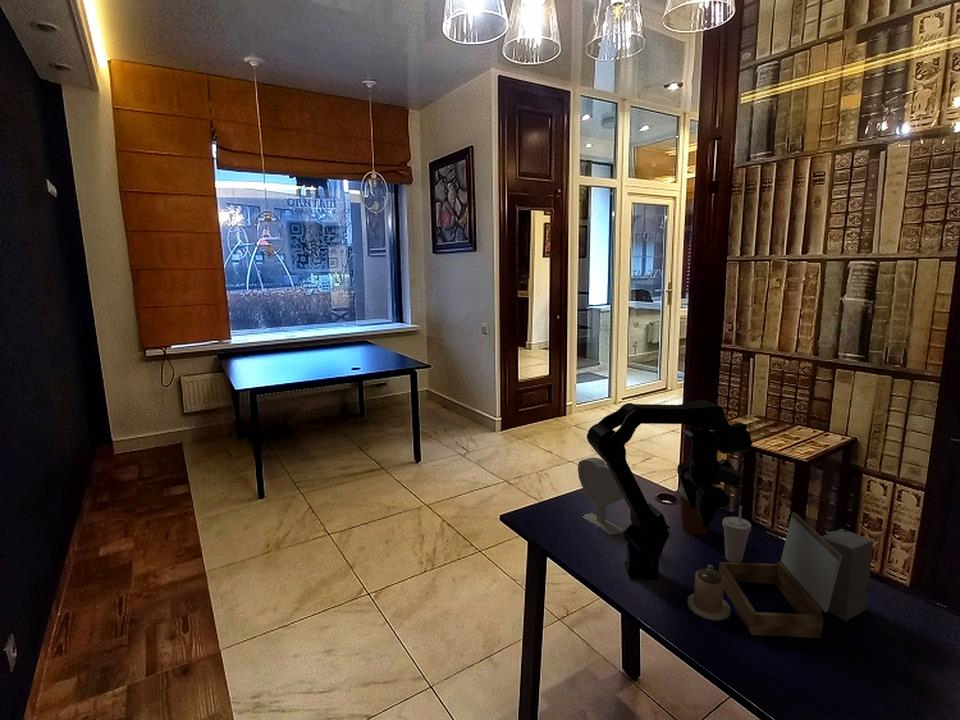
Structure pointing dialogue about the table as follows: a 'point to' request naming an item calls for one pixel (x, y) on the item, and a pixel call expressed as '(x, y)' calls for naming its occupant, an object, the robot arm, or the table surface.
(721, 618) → the cream round disc
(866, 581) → the skincare box
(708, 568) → the clay pot
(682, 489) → the disposable coffee cup
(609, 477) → the heart sculpture
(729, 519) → the smoothie
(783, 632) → the open wooden box frame
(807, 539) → the grey angled plate
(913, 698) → the table surface
